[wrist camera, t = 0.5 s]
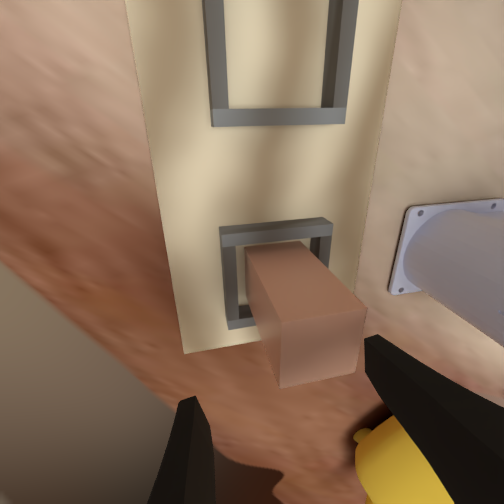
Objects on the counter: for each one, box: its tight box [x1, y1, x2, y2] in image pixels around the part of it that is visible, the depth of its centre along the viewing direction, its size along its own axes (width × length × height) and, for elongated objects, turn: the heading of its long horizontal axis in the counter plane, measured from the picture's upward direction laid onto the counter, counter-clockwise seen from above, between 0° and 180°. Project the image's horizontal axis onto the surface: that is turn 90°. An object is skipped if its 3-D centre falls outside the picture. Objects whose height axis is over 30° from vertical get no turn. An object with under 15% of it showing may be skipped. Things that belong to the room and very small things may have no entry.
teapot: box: [353, 415, 454, 504], centre depth 30 cm, size 13×20×12 cm
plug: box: [244, 241, 367, 389], centre depth 16 cm, size 4×4×8 cm
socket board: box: [125, 0, 402, 354], centre depth 17 cm, size 14×26×2 cm, turn 1°
